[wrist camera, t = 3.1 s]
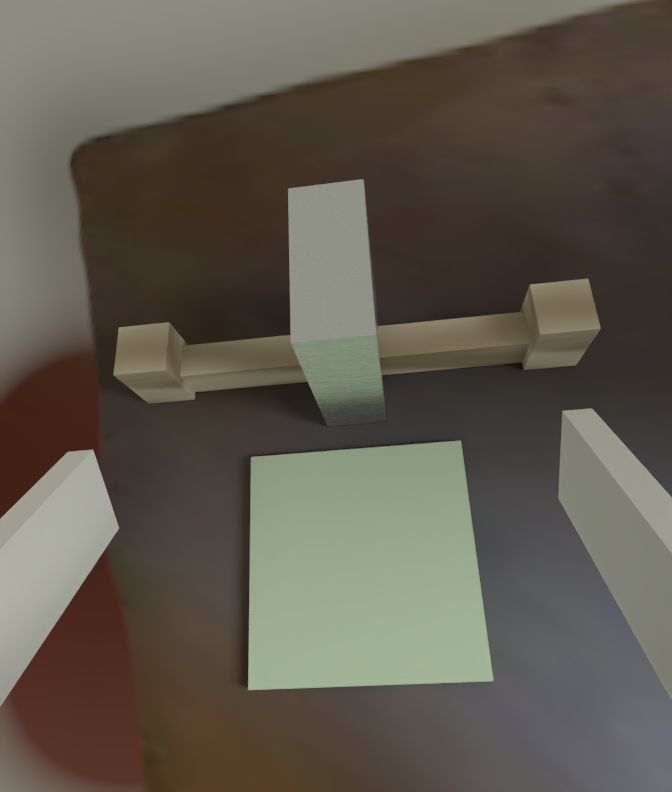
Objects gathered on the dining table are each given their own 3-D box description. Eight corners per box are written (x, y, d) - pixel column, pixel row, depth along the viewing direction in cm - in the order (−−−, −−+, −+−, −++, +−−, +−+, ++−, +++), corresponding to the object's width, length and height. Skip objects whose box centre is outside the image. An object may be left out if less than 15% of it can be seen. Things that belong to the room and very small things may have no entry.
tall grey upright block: (322, 309, 36) (288, 188, 26) (376, 303, 35) (363, 179, 25) (327, 426, 33) (290, 343, 23) (386, 421, 32) (376, 334, 22)
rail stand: (152, 360, 36) (118, 327, 32) (565, 320, 33) (588, 278, 29) (148, 403, 35) (113, 375, 31) (576, 365, 32) (600, 328, 28)
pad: (253, 459, 33) (250, 456, 32) (460, 443, 31) (460, 440, 31) (251, 688, 28) (248, 690, 28) (491, 679, 27) (493, 681, 26)
